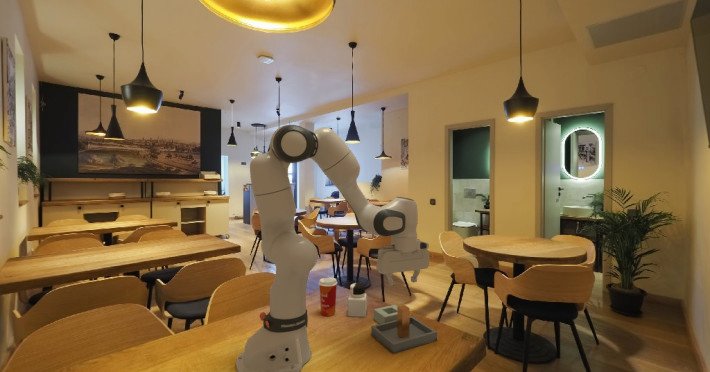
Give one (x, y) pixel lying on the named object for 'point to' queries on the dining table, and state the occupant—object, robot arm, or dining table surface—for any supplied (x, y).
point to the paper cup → (328, 296)
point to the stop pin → (403, 321)
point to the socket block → (385, 314)
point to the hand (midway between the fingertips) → (402, 283)
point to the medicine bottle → (357, 300)
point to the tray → (395, 343)
